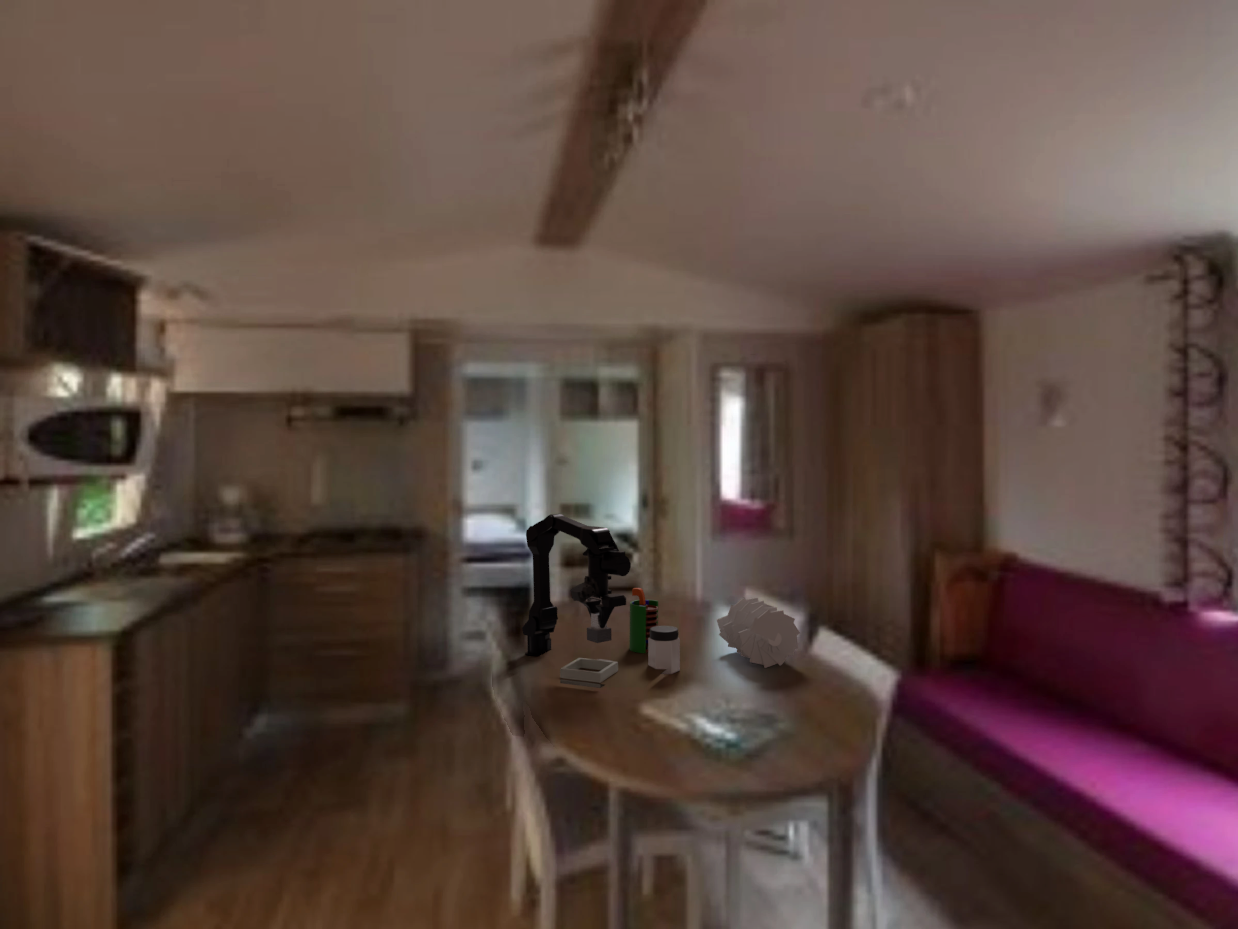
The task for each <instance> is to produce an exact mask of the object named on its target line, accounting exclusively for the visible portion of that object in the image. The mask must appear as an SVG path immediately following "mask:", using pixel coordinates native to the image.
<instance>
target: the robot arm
mask: <svg viewBox="0 0 1238 929" xmlns="http://www.w3.org/2000/svg"><path fill="white" fill-rule="evenodd" d="M560 532H562V533H564V534H566V535H568V536H570V537H573V538H575V539H577V540H579V542H580V544H581V545H583V546H584V547H585V548H586V549H585V551H583V552H582V556H585V557H587V575H584V576H585V577H584V580H583V582H582V583H579V584H578V585H576V586H573V587H572V588H571V589H570V593H571V598H572V599H573V601H574V602H579V603H581V604H582V605H584V606H585V607H586V608H587V611H588V614H589V617H590V618H591V613H595V612H599V616H600V625H601V628H605V626H606V623H607V624H608V621H609V619H610V617H611V614H612V613H613V611H614V609H615V608H616V607H617V608H618V607H623V606H627V597H626V596H625V595H624V594H620V593H613V591H612V589H609V580H612V576H618V577H619V576H620V577H626V576H627V575H628V574H629V573H630V571H631V567H632V563H631V561H630V558H629V557H628V556H626V551H625V550H623V551H622V550H619V548H618V545H617V543H616V542H615V540H614V538H613V535H612V534H611V531H610V529H608V528H607V527H603V526H594V525H593V526H591V525H587V524H585V523H582V522H579V521H577V520H575V519H572V518H570V517H567V516H565V515H564V514H562V513H552V514H549V515H547V516H546V517H544V519H542V520H540V521H538V522H536V523H534V524H533V525H531V526H529V527H528V528H527V529H526V532H525V536H526V539H525V540H526V544H527V548H528V549H529V551H530V553H531V554H532V576H533V578H532V579H533V603H532V604H531V606H530V609H529V610H528V619H527V621H525V624H524V625H523V626H522V627H521V630H522V636H523V635H524V636H526V637H527V638H526V639H527V648H526V649H527V651H526V652H524V655H526V656H533V657H534V656H535V657H536V656H537V657H540V656H542V655H544V654H546V653H547V652H550V651H551V650H552V638H551V633H554V631H555V628H556V625H557V623H558V620H559V617H558V606H555V605H554V604H553V603H552V601H551V584H550V583H551V580H550V577H551V576H550V553H551V551H552V549H553V547H554V545H555V536H557V535H558V534H559V533H560Z"/></svg>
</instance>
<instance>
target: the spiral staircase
mask: <svg viewBox="0 0 1238 929" xmlns="http://www.w3.org/2000/svg"><path fill="white" fill-rule="evenodd" d="M795 620H796V618H794V617H792V616H790V615H788V614H785V613H784V610H782V609H781V610H778V607H776V606H774V605H770V604H767V603H765V602H764V600H759V597H754V598H753V597H751V598H747V599H746V598H745V597H742V598H741V599H740V600H739V601H737V602H736V603H735V604H734V605H733V604H731V605H730V607H729V611H728V612H727V615H725V616H722V617H720V618H716V622H717V626H718V628H719V634H718V636H719V637H721V639H723V640H724V641H725V642H726V643H728V645H727V647H728V648H732V649H736V653H738V654H740V657H743V658H749V663H753V664H757V665H761V666H762V665H763V667H764V669H767V668H769V667H772V666H774V665H777V664H778V666H779V667H781V666H782V665H783V664H784V662H785V661H786V660H787V658H789V656H790V657H794V654H795V651H796V650H797V649H798V650H799V643H798V635H800V634H801V632H800V630H799V629H798V627H797V625H796V624H795Z"/></svg>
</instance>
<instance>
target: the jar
mask: <svg viewBox="0 0 1238 929" xmlns="http://www.w3.org/2000/svg"><path fill="white" fill-rule="evenodd" d="M680 644H681V639H680V637H679V628H678V627H676V626H672V625H658V626H655V627H651V628H650V637H649V638H648V647H647V649H648V652H647V655H648V664H647V665H648V666H649V667H651V668H652V669H655V670H663V671H662V672H661V673H660V675H674V674H675V673H677V672H679V671H680V670H681V669H680V668H681V645H680Z"/></svg>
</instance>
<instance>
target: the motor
mask: <svg viewBox="0 0 1238 929" xmlns="http://www.w3.org/2000/svg"><path fill="white" fill-rule="evenodd" d="M631 591H632V592H631V593H632V594H631V595H632V597H635V596H638V599H636V600H632V601H630V602H629V640H628V641H629V644H628V645H629V651H631V652H633V653H637V654H638V653H639V654H646V653H648V638H649V637H650V628H651V627H655V626H659V600H655V599H646V596H645V592H644V589H643V588H641V587H633V588H632V590H631ZM646 648H647V649H646Z"/></svg>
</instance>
